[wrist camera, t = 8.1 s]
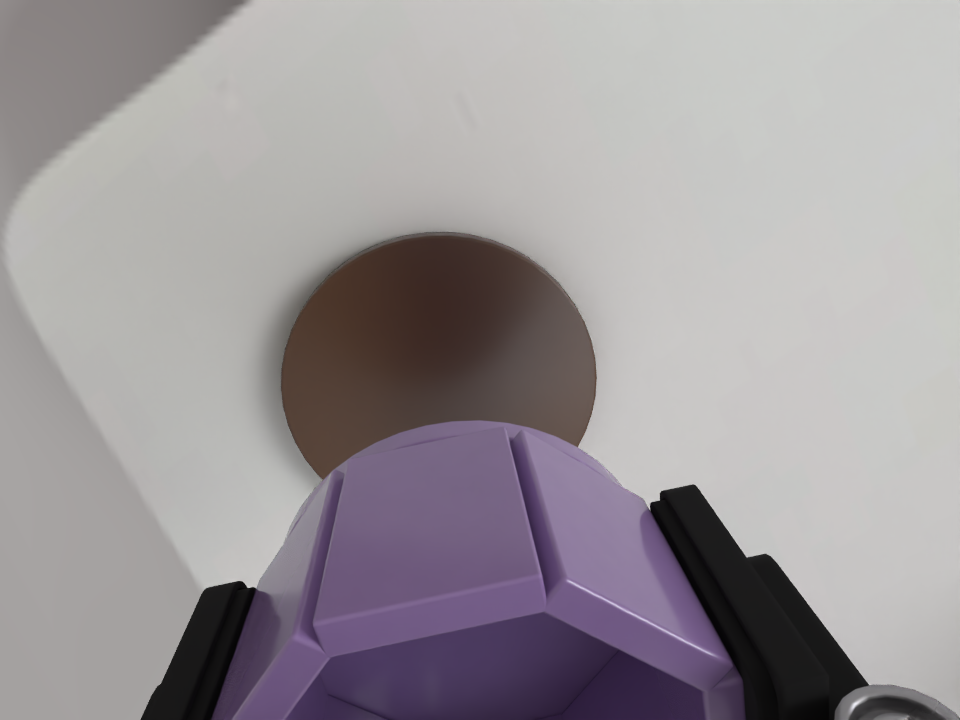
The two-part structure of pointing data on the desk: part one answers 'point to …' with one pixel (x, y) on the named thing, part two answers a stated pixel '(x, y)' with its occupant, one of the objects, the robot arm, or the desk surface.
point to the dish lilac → (477, 594)
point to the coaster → (434, 347)
